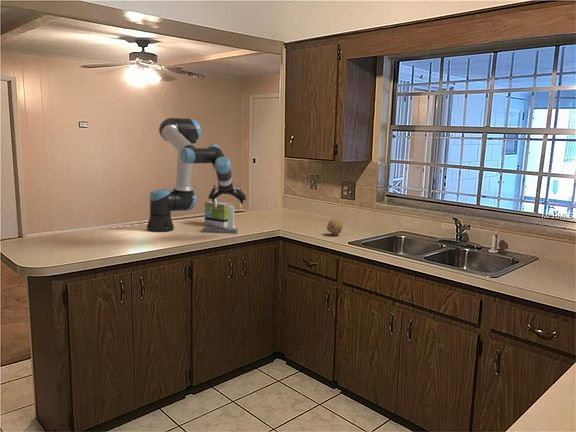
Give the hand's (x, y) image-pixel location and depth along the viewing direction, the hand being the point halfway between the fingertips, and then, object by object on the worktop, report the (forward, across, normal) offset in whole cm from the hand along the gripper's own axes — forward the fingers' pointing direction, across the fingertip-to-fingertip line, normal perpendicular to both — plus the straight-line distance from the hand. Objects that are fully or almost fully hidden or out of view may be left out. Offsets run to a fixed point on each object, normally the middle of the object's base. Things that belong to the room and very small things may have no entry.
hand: (228, 206), depth 261 cm
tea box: (+34, -10, +9) cm, 36 cm away
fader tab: (+18, 0, -3) cm, 18 cm away
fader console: (+19, -6, -5) cm, 21 cm away
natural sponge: (+21, +61, -3) cm, 65 cm away
